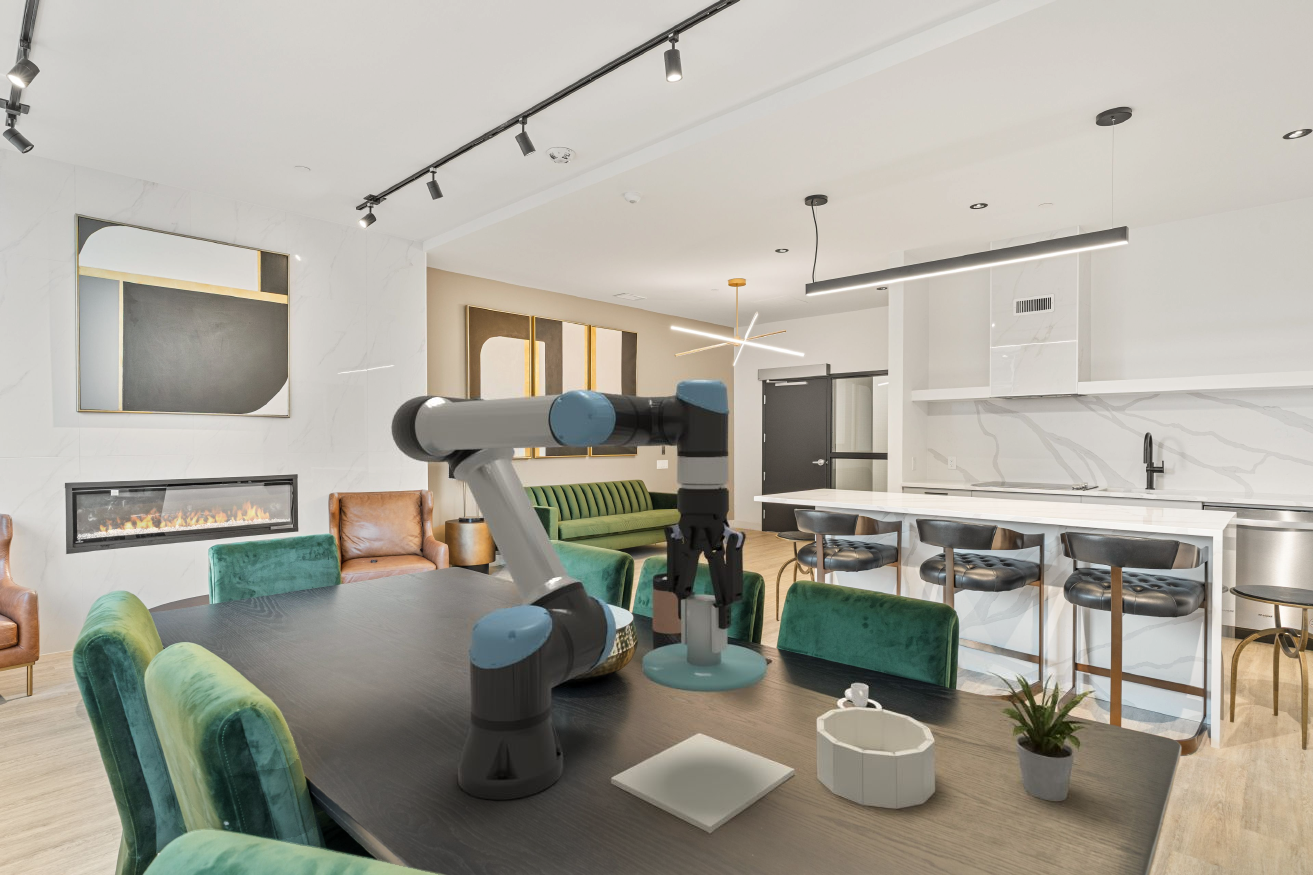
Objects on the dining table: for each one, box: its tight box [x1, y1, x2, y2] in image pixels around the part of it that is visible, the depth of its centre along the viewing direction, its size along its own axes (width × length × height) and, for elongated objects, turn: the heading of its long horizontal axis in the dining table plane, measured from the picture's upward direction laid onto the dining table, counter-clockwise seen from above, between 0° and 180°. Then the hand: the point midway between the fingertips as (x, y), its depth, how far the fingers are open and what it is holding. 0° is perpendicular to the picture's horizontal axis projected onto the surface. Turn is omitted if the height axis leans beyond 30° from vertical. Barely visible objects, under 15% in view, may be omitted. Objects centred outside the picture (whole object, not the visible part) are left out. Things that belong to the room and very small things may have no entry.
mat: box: [610, 732, 795, 834], centre depth 96 cm, size 20×18×1 cm
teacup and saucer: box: [836, 682, 883, 709], centre depth 123 cm, size 9×8×4 cm
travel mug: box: [652, 572, 681, 650], centre depth 143 cm, size 8×8×20 cm
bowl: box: [816, 706, 936, 810], centre depth 96 cm, size 16×16×7 cm
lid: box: [641, 594, 768, 693], centre depth 96 cm, size 18×18×10 cm
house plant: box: [986, 670, 1096, 802], centre depth 93 cm, size 14×14×16 cm
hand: (704, 646), depth 96 cm, fingers closed on lid, 5 cm apart
